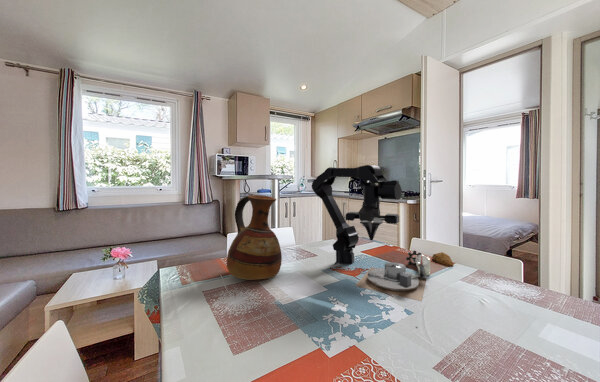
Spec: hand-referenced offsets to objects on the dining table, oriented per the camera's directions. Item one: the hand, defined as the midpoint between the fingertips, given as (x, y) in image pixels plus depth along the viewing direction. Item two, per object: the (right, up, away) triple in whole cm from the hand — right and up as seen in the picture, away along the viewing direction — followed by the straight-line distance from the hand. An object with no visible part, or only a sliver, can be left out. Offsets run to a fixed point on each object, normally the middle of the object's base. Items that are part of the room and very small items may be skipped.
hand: (371, 240), depth 90 cm
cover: (+4, -10, -12) cm, 16 cm away
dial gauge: (+15, -11, -9) cm, 20 cm away
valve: (+18, -12, -1) cm, 22 cm away
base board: (+4, -12, -11) cm, 17 cm away
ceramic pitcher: (-44, -13, -2) cm, 45 cm away
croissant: (+31, -12, +8) cm, 35 cm away
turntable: (+4, -11, -11) cm, 16 cm away
